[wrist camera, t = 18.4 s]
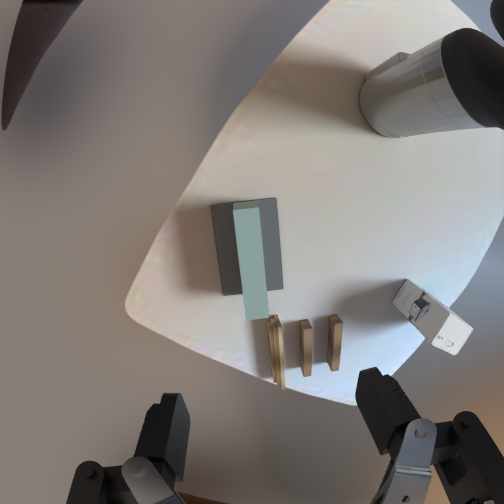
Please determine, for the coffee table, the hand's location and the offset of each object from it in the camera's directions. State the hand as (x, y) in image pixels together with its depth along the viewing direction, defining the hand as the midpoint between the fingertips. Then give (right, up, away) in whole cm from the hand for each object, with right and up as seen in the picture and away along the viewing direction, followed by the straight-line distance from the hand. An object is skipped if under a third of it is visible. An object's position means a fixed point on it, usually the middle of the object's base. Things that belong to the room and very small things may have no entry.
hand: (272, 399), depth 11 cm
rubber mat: (-1, +7, +24) cm, 25 cm away
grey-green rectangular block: (-2, +12, +19) cm, 22 cm away
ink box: (+26, -2, +28) cm, 38 cm away
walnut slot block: (+9, -7, +29) cm, 31 cm away
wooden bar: (+2, -8, +29) cm, 30 cm away
